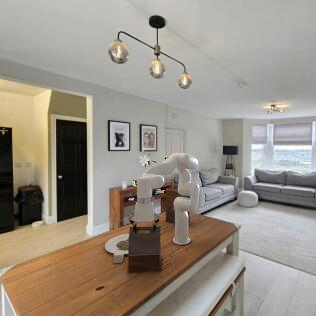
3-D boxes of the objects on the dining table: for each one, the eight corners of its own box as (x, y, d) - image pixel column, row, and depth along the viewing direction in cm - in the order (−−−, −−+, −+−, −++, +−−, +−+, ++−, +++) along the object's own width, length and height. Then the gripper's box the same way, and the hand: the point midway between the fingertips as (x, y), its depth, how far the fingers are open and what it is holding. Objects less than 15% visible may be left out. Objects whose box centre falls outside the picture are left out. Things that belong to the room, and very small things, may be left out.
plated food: (100, 259, 114) (100, 253, 114) (109, 237, 143) (109, 232, 143) (152, 253, 121) (152, 248, 121) (150, 234, 150) (150, 229, 150)
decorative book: (189, 224, 171) (190, 190, 170) (185, 227, 165) (185, 191, 164) (169, 219, 184) (169, 187, 183) (164, 221, 178) (164, 188, 177)
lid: (129, 227, 106) (128, 227, 101) (160, 226, 108) (160, 226, 103) (128, 254, 103) (126, 257, 98) (160, 253, 104) (159, 255, 99)
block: (115, 258, 115) (115, 251, 115) (123, 258, 116) (123, 251, 116) (113, 263, 111) (113, 255, 111) (121, 262, 111) (121, 255, 111)
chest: (132, 258, 116) (132, 244, 115) (160, 257, 117) (161, 243, 117) (128, 272, 103) (128, 255, 102) (159, 270, 104) (160, 254, 104)
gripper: (161, 197, 107) (161, 228, 108) (129, 198, 105) (129, 229, 106) (160, 201, 99) (161, 234, 100) (126, 202, 98) (126, 235, 98)
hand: (144, 231), depth 103 cm, fingers open, 9 cm apart
